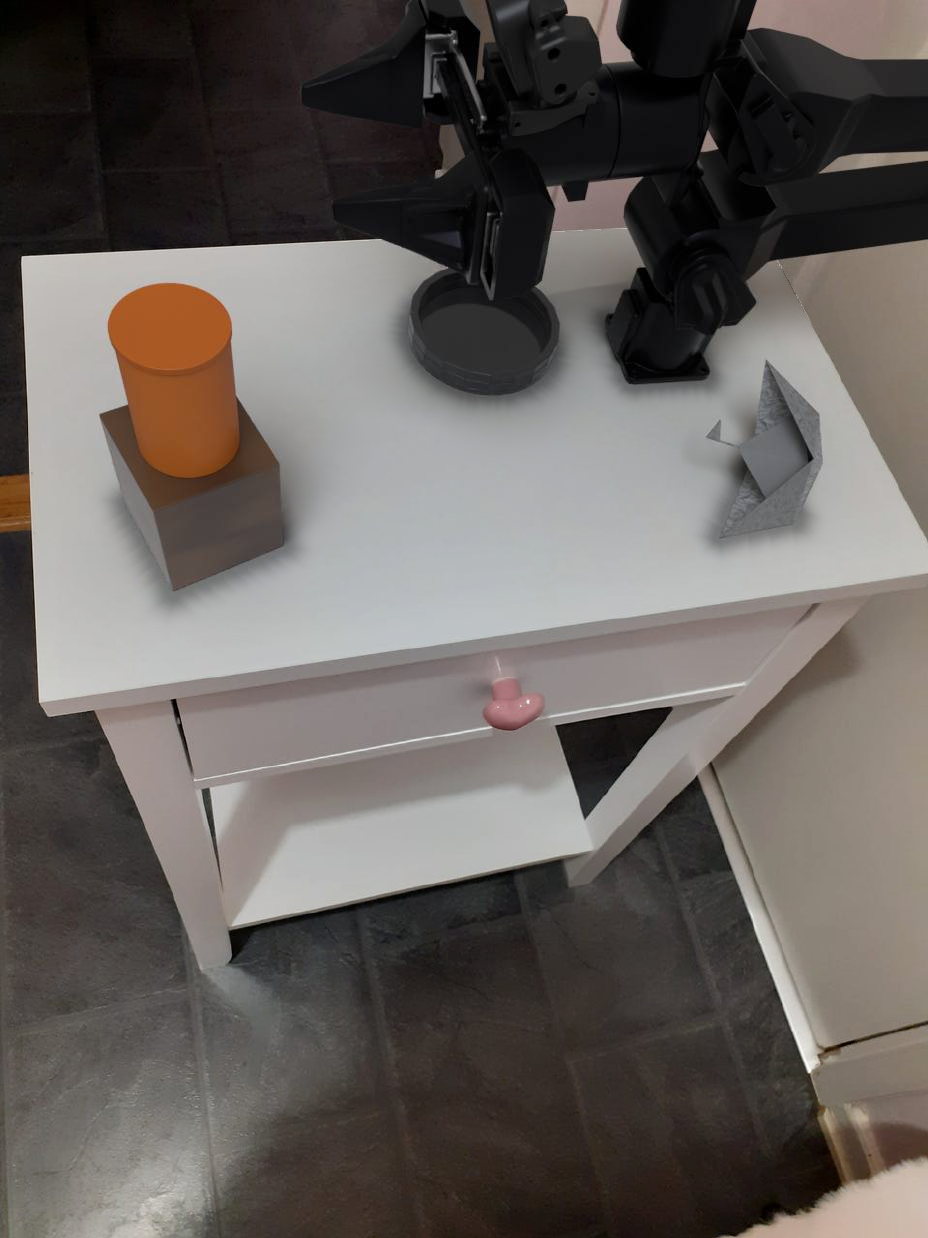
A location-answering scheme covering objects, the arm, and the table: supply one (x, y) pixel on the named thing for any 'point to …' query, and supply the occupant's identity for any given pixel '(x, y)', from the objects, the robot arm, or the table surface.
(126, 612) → the table surface
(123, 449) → the block
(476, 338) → the pan
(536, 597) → the table surface
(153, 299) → the orange tin can
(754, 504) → the paper boat
